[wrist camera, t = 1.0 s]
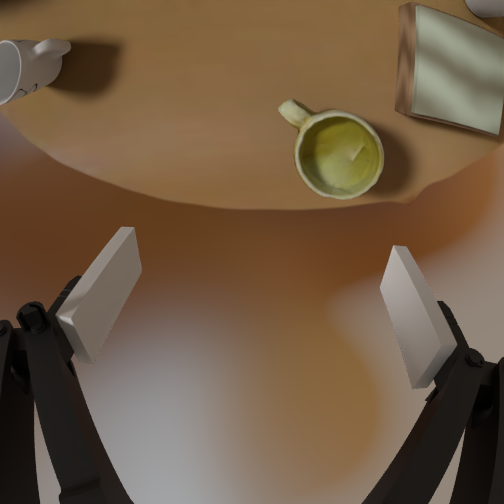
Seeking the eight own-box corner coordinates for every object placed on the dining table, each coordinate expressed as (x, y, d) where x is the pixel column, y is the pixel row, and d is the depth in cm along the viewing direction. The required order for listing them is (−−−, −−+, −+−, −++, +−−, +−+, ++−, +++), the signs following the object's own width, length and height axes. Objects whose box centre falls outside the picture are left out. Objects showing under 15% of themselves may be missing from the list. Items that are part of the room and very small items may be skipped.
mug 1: (79, 17, 27) (32, 13, 19) (91, 68, 31) (44, 74, 23) (23, 54, 29) (-23, 62, 21) (35, 100, 33) (-11, 116, 25)
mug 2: (400, 155, 34) (399, 182, 26) (334, 189, 40) (314, 223, 33) (345, 70, 31) (327, 70, 24) (281, 112, 37) (247, 127, 30)
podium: (398, 6, 25) (415, 0, 21) (487, 38, 24) (508, 38, 20) (394, 110, 32) (410, 116, 28) (480, 130, 32) (500, 139, 27)
